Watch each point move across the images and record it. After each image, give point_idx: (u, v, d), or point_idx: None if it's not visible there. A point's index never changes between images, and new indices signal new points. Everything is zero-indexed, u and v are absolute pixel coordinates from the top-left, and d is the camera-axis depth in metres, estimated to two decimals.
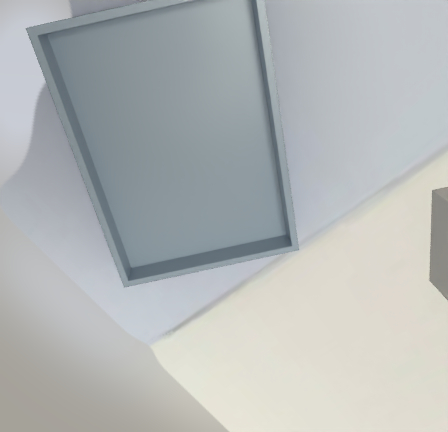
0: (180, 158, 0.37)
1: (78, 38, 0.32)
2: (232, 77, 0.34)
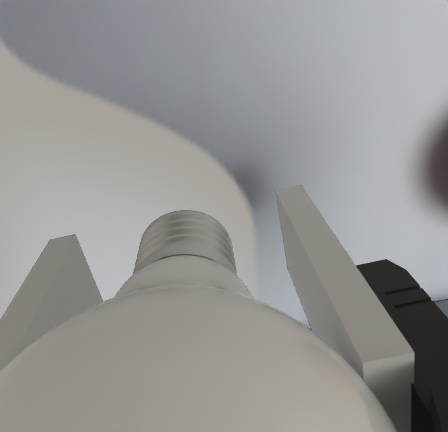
0: None
1: None
2: None
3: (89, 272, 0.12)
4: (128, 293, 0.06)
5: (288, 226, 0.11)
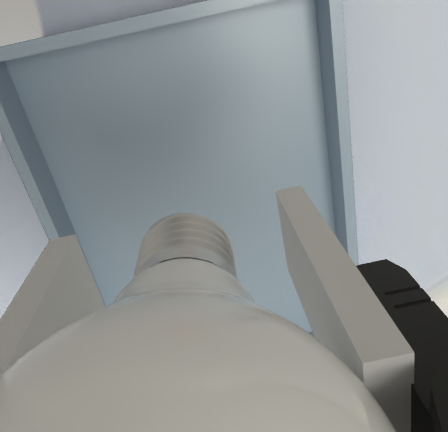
0: None
1: (52, 67, 0.21)
2: (280, 121, 0.23)
3: (89, 272, 0.12)
4: (128, 298, 0.06)
5: (288, 226, 0.11)
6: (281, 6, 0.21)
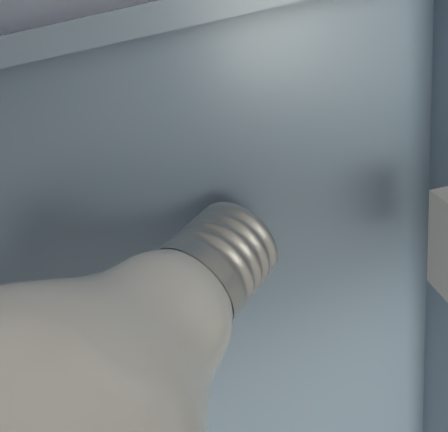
0: None
1: None
2: (352, 201, 0.13)
3: None
4: (47, 283, 0.07)
5: None
6: None
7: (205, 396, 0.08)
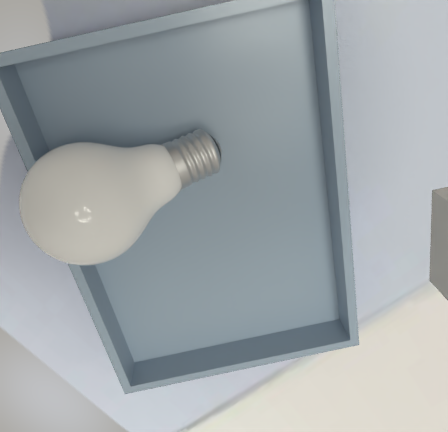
0: (202, 227, 0.27)
1: (59, 69, 0.22)
2: (277, 121, 0.24)
3: None
4: (104, 152, 0.20)
5: None
6: (277, 11, 0.22)
7: (148, 211, 0.21)
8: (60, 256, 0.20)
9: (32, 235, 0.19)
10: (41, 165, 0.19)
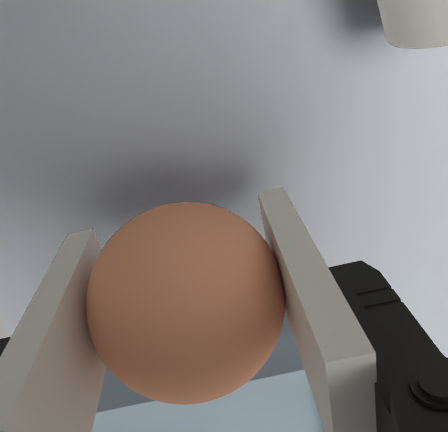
0: None
1: None
2: None
3: None
4: None
5: (268, 228, 0.11)
6: None
7: None
8: None
9: None
10: None
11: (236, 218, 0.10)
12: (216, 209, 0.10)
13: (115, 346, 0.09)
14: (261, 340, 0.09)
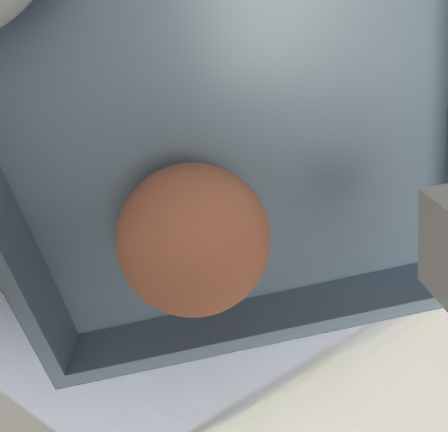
0: (197, 54, 0.13)
1: None
2: None
3: None
4: None
5: None
6: None
7: None
8: None
9: None
10: None
11: (230, 172, 0.13)
12: None
13: (147, 266, 0.11)
14: (256, 257, 0.12)
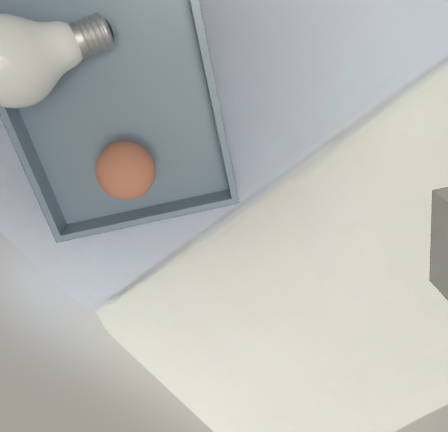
0: (110, 103, 0.35)
1: None
2: (159, 13, 0.32)
3: None
4: (18, 18, 0.28)
5: None
6: None
7: (52, 65, 0.29)
8: None
9: None
10: None
11: None
12: None
13: (121, 173, 0.33)
14: (154, 167, 0.35)
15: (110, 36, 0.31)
